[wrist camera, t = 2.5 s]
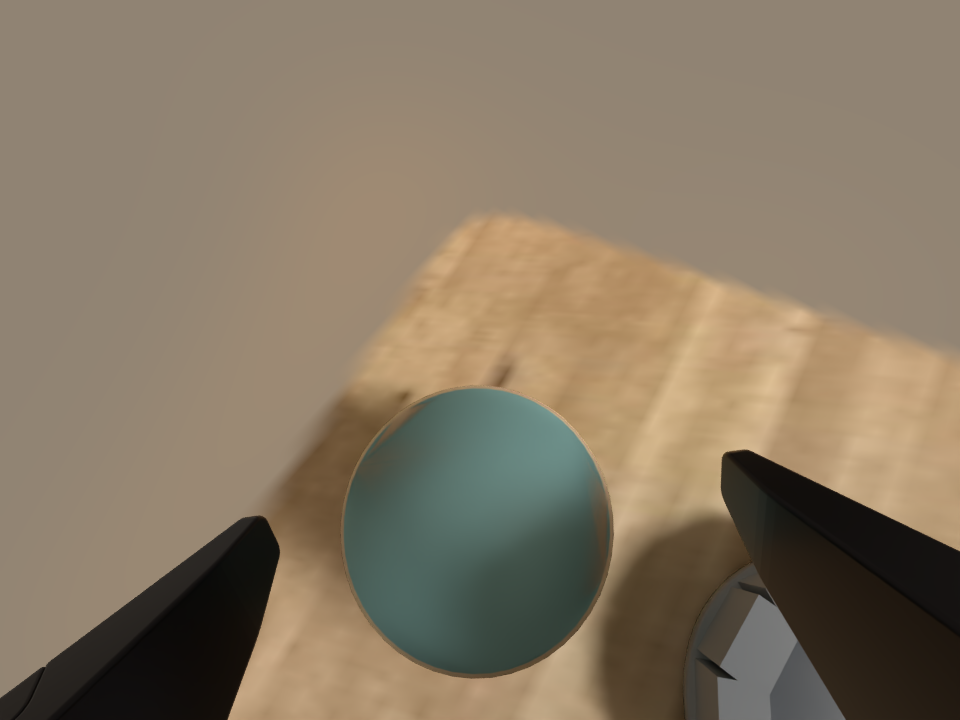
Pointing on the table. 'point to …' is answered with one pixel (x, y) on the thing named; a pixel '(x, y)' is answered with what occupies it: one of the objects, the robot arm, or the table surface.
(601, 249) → the table surface
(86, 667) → the robot arm
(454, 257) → the table surface
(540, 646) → the peg
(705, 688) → the holder
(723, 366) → the table surface
